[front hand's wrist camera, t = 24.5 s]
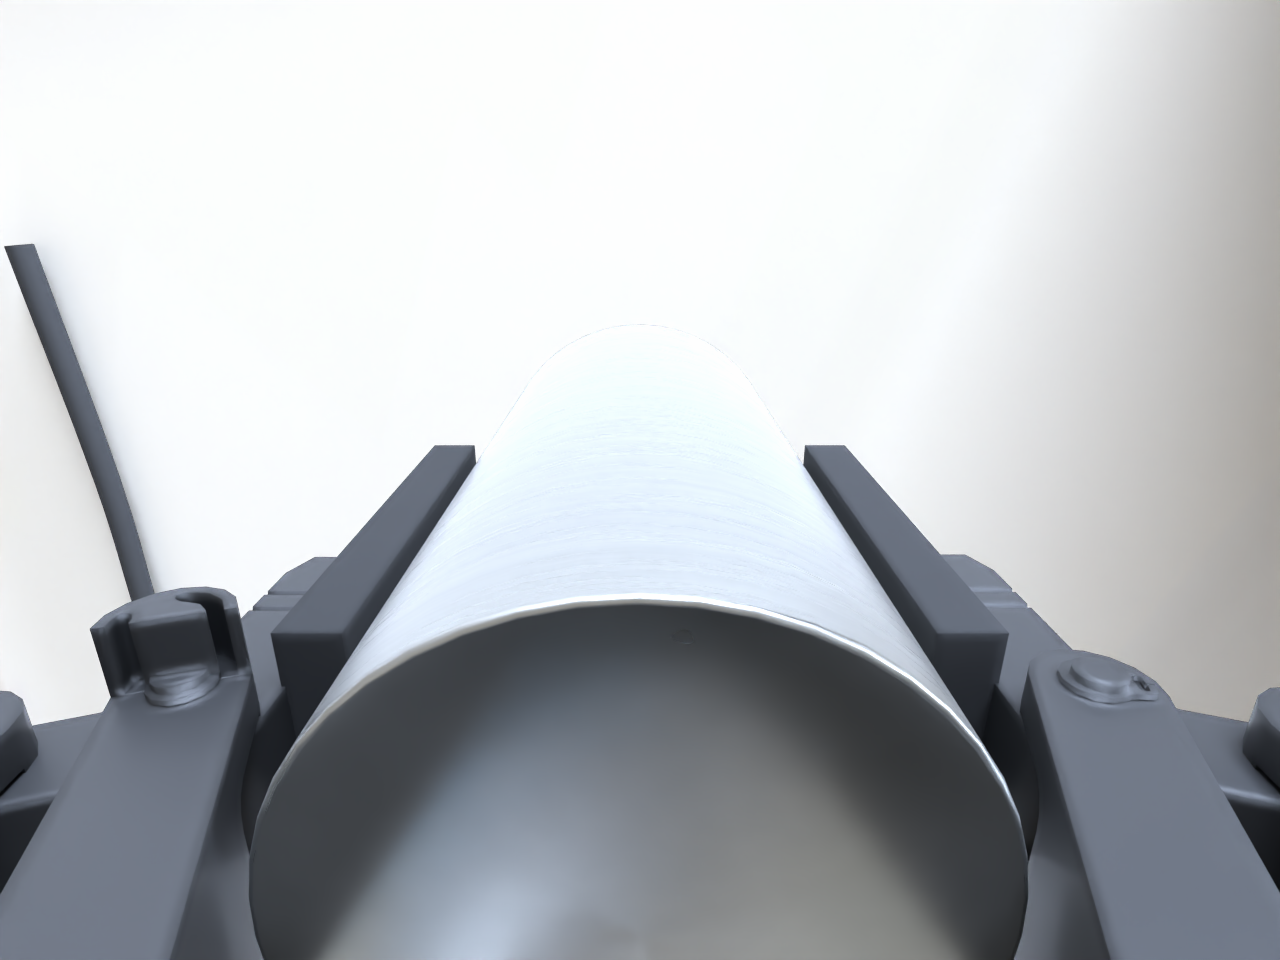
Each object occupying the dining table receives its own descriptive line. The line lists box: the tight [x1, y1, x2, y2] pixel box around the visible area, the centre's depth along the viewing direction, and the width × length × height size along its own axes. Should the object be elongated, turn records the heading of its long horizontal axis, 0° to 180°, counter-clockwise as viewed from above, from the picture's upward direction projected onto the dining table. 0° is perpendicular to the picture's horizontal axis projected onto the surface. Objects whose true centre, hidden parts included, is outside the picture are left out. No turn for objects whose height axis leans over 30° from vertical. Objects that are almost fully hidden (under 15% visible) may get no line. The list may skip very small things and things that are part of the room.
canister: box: [249, 325, 1028, 960], centre depth 12 cm, size 6×6×12 cm
